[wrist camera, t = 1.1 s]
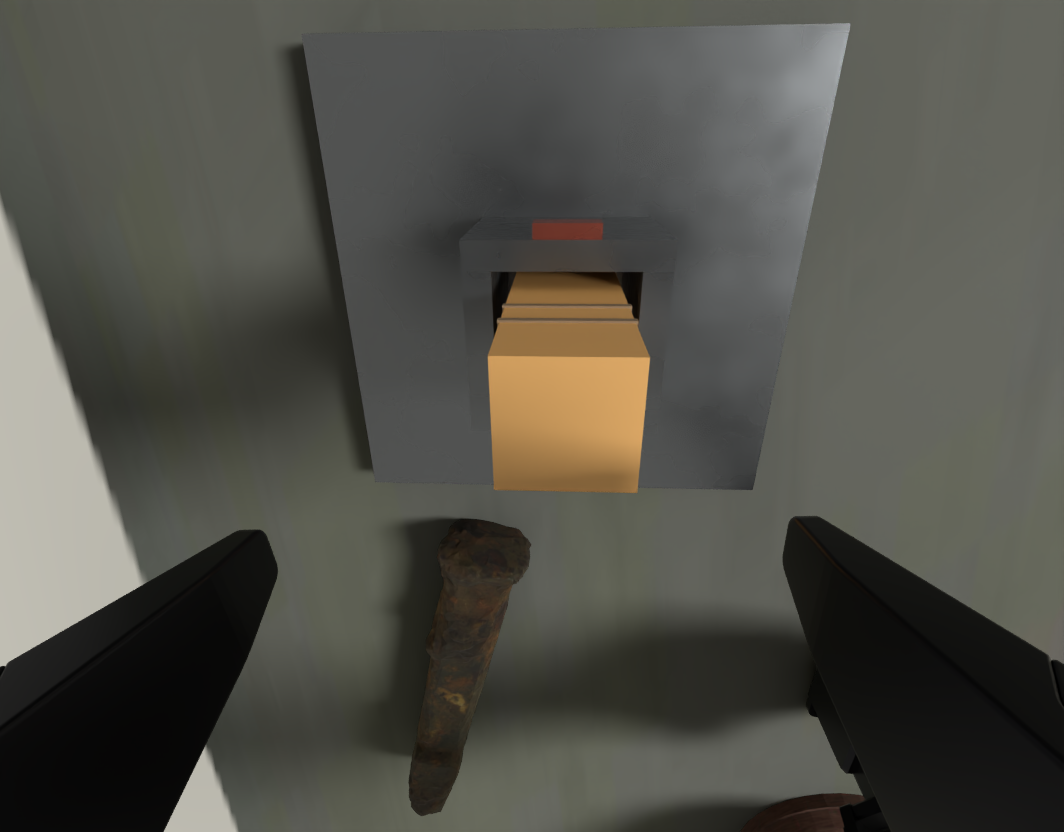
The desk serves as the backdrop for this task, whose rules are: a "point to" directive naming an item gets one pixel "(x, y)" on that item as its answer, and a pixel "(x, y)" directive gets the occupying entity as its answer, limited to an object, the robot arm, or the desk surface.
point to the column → (567, 385)
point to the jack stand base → (572, 219)
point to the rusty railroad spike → (461, 648)
